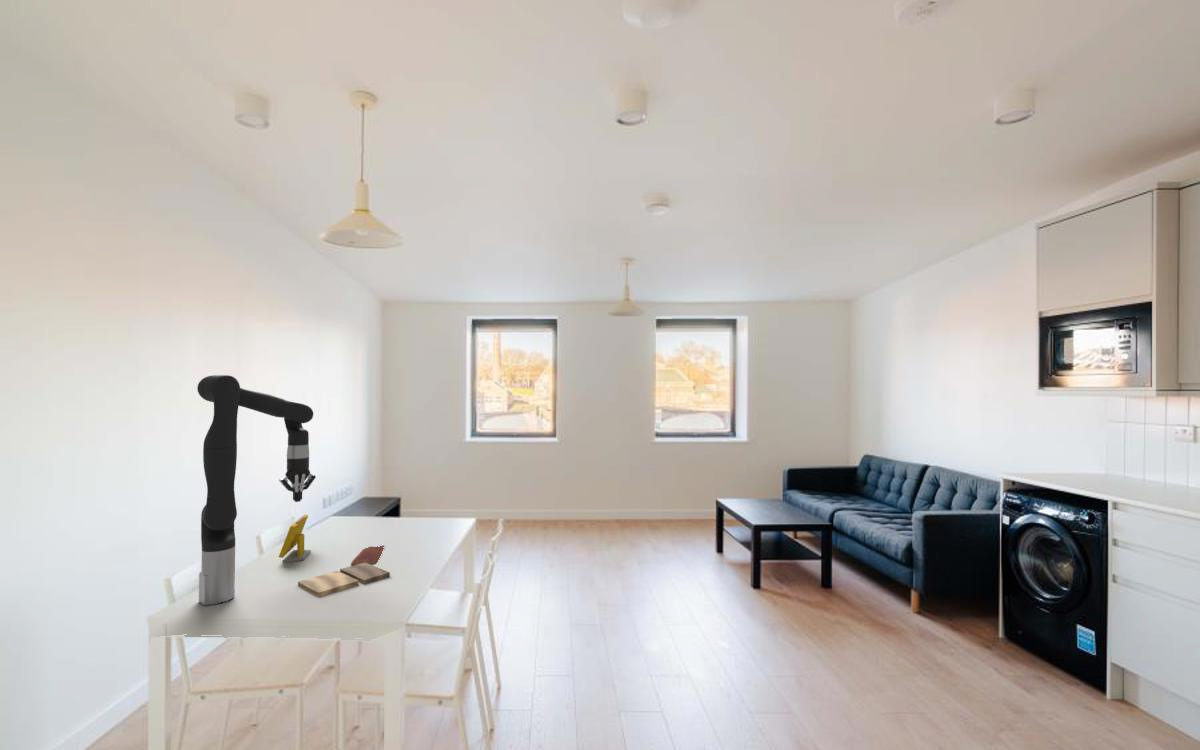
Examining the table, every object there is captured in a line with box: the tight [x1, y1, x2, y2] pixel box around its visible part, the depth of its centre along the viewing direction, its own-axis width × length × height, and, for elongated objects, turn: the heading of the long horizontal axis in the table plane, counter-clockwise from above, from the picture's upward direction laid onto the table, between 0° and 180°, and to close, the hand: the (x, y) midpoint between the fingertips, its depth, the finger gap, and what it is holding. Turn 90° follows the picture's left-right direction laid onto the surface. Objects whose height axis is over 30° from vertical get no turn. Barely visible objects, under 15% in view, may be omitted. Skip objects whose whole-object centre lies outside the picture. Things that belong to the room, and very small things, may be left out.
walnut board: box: [339, 562, 391, 585], centre depth 203 cm, size 10×18×2 cm, turn 51°
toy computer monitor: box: [278, 514, 311, 563], centre depth 224 cm, size 20×8×16 cm, turn 14°
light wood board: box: [297, 570, 359, 598], centre depth 193 cm, size 14×16×2 cm
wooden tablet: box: [350, 545, 385, 566], centre depth 226 cm, size 27×10×2 cm, turn 12°
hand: (297, 501), depth 207 cm, fingers closed
